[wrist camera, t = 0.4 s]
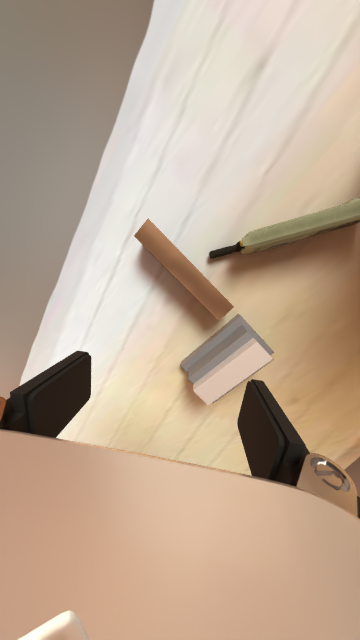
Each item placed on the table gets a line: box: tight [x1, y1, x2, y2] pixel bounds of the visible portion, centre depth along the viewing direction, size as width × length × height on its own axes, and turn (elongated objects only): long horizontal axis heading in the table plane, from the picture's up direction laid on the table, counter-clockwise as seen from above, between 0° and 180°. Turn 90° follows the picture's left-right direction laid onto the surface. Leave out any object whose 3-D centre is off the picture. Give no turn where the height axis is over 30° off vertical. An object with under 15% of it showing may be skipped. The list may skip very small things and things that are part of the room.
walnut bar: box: [134, 219, 233, 321], centre depth 32 cm, size 4×20×6 cm, turn 46°
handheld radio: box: [209, 197, 360, 259], centre depth 28 cm, size 7×3×25 cm
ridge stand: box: [181, 314, 274, 405], centre depth 34 cm, size 16×10×8 cm, turn 134°
